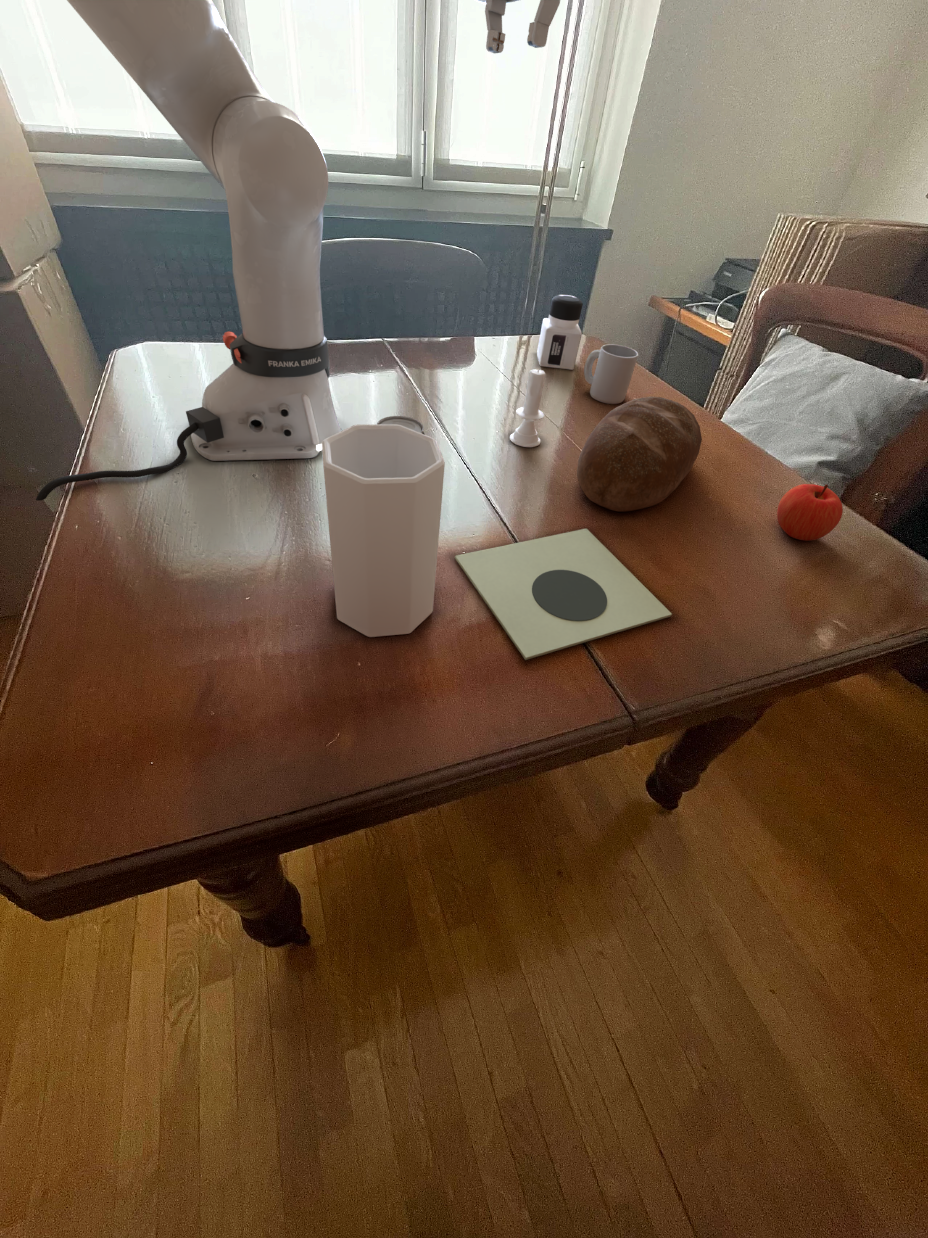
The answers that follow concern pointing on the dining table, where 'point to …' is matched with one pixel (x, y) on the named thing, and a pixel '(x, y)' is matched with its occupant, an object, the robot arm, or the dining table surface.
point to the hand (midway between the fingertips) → (514, 49)
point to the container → (560, 333)
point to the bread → (639, 454)
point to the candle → (530, 411)
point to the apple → (809, 511)
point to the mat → (559, 591)
